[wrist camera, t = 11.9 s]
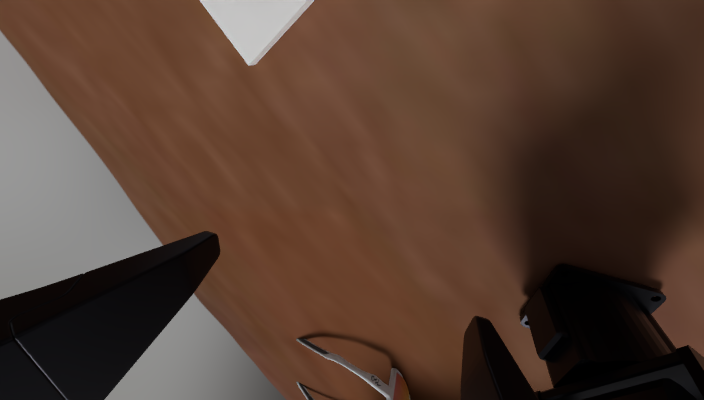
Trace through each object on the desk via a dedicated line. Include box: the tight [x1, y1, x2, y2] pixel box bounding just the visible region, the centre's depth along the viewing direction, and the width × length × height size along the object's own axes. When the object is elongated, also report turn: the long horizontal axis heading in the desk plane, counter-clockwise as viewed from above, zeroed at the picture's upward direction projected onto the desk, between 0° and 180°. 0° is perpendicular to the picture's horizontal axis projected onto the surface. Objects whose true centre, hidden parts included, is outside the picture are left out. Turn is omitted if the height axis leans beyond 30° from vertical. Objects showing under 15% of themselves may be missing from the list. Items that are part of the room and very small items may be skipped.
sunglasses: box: [296, 339, 410, 400], centre depth 34 cm, size 14×15×5 cm
